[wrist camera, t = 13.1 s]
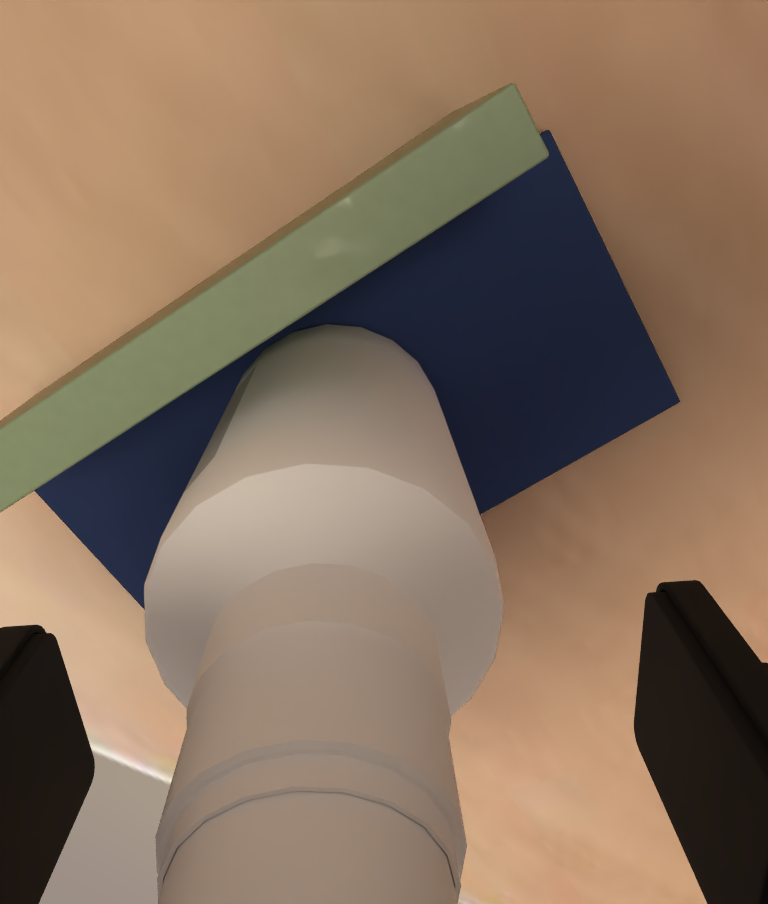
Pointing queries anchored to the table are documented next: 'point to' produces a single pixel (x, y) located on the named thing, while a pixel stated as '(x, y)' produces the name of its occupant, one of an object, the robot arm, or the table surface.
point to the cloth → (429, 365)
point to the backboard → (270, 287)
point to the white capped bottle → (321, 635)
